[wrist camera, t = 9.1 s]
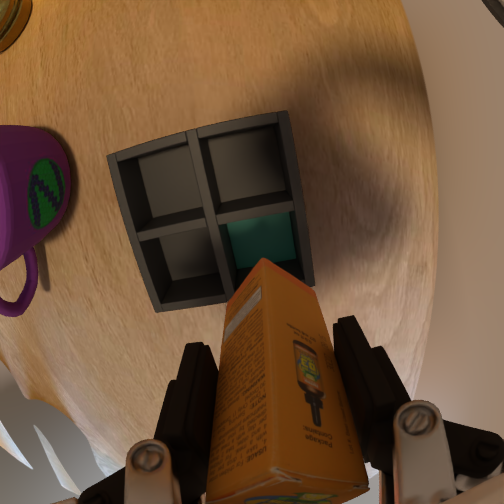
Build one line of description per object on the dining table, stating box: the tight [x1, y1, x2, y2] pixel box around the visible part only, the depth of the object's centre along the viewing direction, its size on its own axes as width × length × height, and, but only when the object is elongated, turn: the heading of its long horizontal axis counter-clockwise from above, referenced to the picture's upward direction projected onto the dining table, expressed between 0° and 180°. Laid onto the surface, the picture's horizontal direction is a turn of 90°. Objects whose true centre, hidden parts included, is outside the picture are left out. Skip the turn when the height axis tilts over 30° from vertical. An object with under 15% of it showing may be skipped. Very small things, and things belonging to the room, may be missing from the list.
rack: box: [107, 110, 315, 313], centre depth 21 cm, size 12×12×5 cm
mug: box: [0, 125, 71, 317], centre depth 19 cm, size 17×11×10 cm, turn 173°
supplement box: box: [205, 258, 370, 504], centre depth 10 cm, size 3×3×10 cm
